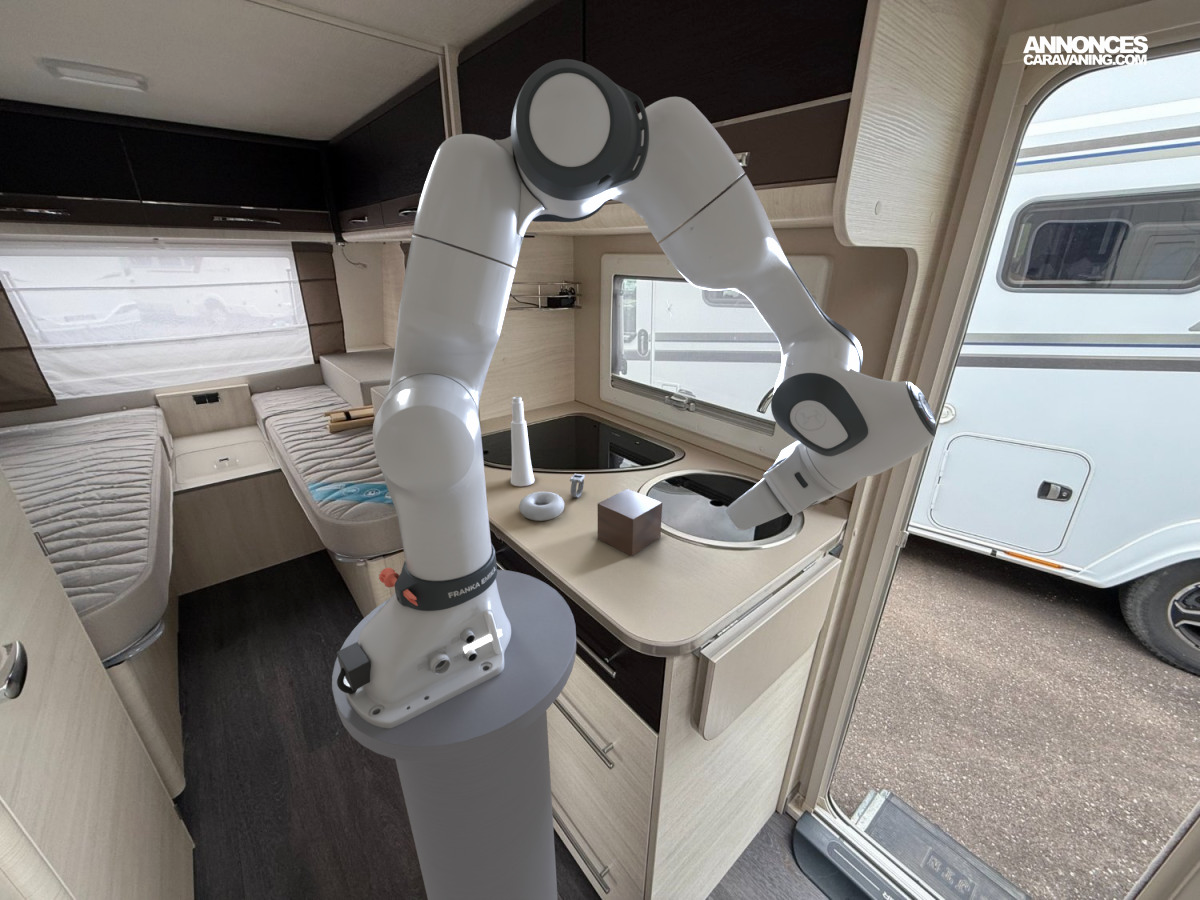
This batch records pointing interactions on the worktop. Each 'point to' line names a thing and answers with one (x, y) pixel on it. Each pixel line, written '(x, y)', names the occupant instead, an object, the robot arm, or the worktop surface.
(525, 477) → the cosmetic bottle
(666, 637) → the worktop surface
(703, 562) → the worktop surface
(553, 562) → the worktop surface
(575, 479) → the wristwatch
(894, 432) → the robot arm
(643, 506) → the walnut block
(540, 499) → the donut
